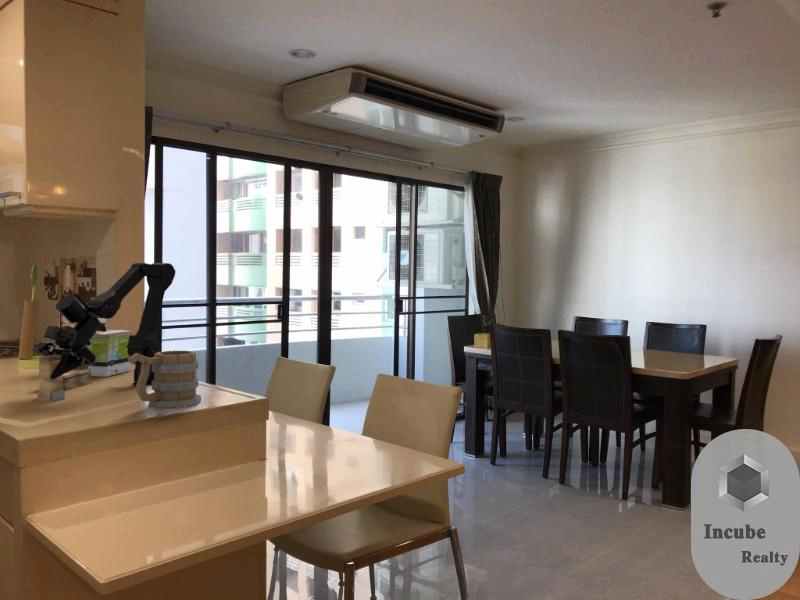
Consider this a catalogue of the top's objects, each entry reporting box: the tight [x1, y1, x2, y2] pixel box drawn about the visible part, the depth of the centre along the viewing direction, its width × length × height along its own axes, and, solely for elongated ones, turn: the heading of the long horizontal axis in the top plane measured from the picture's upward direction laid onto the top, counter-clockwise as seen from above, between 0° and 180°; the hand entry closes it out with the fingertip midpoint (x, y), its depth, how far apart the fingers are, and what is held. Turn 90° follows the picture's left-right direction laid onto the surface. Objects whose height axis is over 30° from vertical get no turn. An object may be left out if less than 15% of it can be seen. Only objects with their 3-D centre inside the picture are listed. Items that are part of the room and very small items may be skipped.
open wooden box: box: [63, 372, 92, 391], centre depth 195 cm, size 13×8×4 cm, turn 174°
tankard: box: [128, 350, 202, 409], centre depth 175 cm, size 20×13×15 cm, turn 141°
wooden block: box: [38, 355, 63, 400], centre depth 177 cm, size 4×4×12 cm
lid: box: [63, 360, 91, 378], centre depth 195 cm, size 13×8×4 cm, turn 174°
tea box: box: [87, 329, 133, 378], centre depth 226 cm, size 15×10×15 cm, turn 171°
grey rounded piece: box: [37, 389, 66, 402], centre depth 177 cm, size 6×7×3 cm
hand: (46, 377), depth 176 cm, fingers closed on wooden block, 4 cm apart
